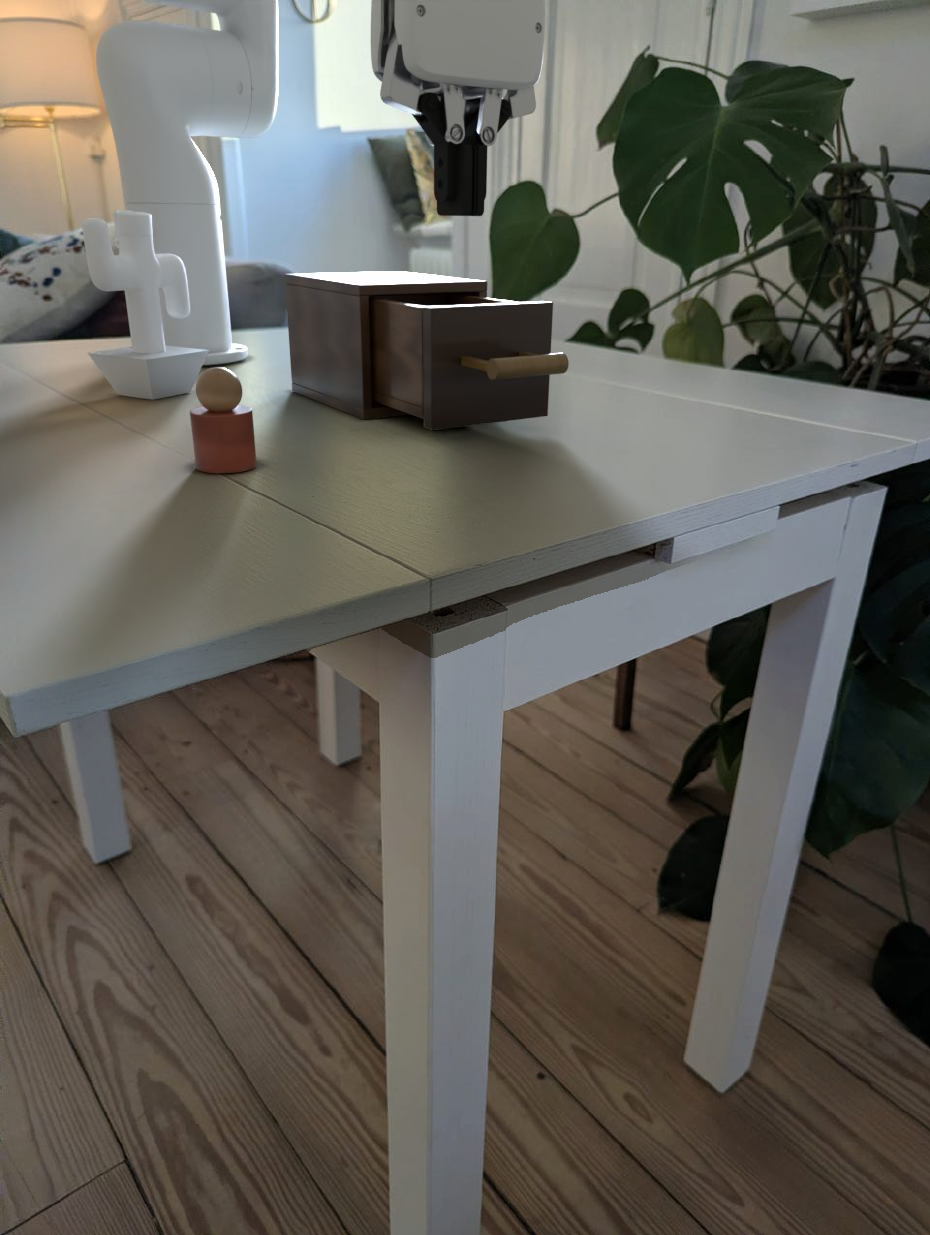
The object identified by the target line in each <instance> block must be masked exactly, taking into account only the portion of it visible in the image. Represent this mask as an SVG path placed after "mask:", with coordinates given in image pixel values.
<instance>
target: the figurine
mask: <svg viewBox="0 0 930 1235" xmlns="http://www.w3.org/2000/svg"><path fill="white" fill-rule="evenodd" d="M112 213H113V222H114V235H115V236H116V237H115V238H114V240H113V243H114V246H115V248H117V249H118V254H114V250H113V247H112V243H111V235H110V229H109V226H108V224H107V222H106V221H105V220H104V219H102V218H100V217H88V218H85V219H84V220H83V222H82V235H83V243H84V250H85V257H86V264H87V268H88V274H89V277H90V280H91V282H92V284H93V285H94V286H95V288H97V289H98V290H100V291H103V292H121V291H124V295H125V296H124V297H125V305H126V311H127V312H126V313H127V319H128V320H127V321H128V327H129V335H130V341H131V346H127V347H119V348H112V349H104V350H97V351H92V352H90V351H89V352H87V354H88V356H89V357H90V359H91V360H92V361H93V363H94V365H96V367H97V368H98V369H99V371H100V372H101V373H102V375H103V376H104V378H105V379H106V380H107V381H108V383H109V384H110V386H111V388H113V390H114V391H115V393H116V394H117V395H118V396H124V397H131V398H138V399H143V400H144V399H145V400H153V401H154V400H158V399H163V398H170V397H174V396H179V395H184V394H189V393H191V391H192V389H193V387H194V385H195V382H196V381H197V379H198V378H197V377H199V373H200V371H201V369H202V368H203V366H204V365H203V363H204V361H205V358H206V356H207V354H208V352H209V350H203V349H194V348H184V347H175V346H166V345H165V341H164V333H163V324H162V316H161V307H160V299H159V288H163V291H164V295H165V300H166V308H167V312H168V314H169V315H170V316H171V317H174V318H185V317H187V316H188V315H189V314H190V304H189V294H188V284H187V276H186V271H185V267H184V264H183V262H182V260H181V259H180V258H179V257H178V256H176V255H174V254H169V253H167V254H155V253H154V247H153V237H152V234H153V231H152V215H151V214H149V213H145V212H133V211H132V210H125V209H123V210H122V209H114V210H113V212H112ZM202 365H203V366H202Z"/></svg>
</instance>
